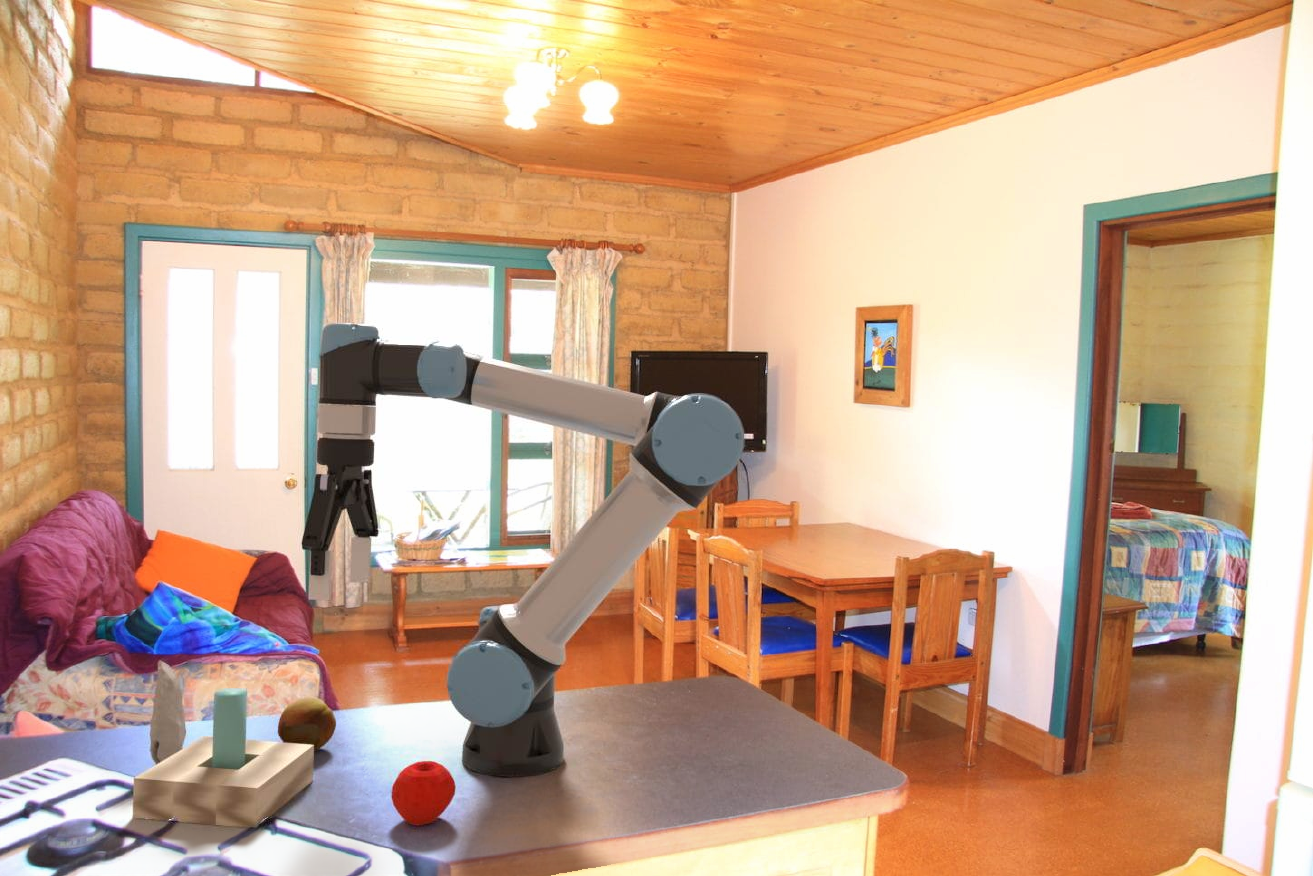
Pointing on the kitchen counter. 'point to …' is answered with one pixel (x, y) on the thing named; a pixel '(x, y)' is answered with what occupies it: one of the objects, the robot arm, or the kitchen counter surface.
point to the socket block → (223, 784)
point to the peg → (229, 728)
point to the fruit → (307, 723)
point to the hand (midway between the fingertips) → (340, 590)
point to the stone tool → (167, 716)
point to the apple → (423, 792)
